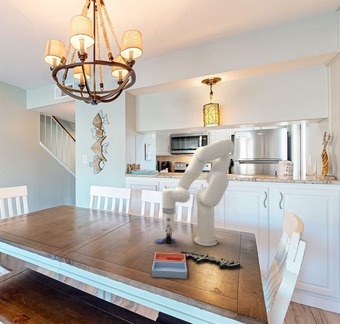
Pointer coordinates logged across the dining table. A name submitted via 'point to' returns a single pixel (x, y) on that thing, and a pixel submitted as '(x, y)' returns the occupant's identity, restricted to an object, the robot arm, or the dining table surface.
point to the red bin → (169, 255)
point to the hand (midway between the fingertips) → (168, 241)
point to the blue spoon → (163, 241)
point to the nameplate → (210, 260)
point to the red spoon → (170, 258)
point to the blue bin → (169, 269)
